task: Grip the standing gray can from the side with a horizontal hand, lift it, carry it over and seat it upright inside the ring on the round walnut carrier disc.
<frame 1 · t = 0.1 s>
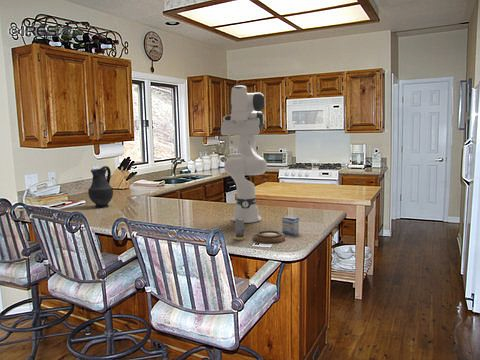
hand: (240, 143, 212), 48 cm above the countertop, tool pointing down, fingers open, 8 cm apart
pitcher: (103, 206, 305), on the countertop
carrier: (269, 238, 205), on the countertop
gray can: (239, 238, 207), on the countertop
medicine box: (290, 233, 216), on the countertop
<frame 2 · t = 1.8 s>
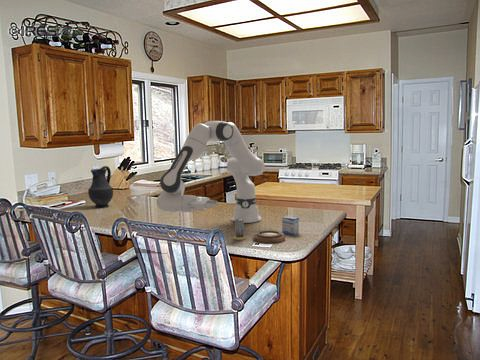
hand: (216, 204, 206), 18 cm above the countertop, tool horizontal, fingers open, 8 cm apart
nothing on the countertop moved.
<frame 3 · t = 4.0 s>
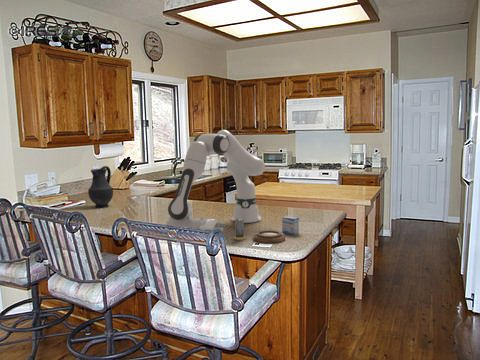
hand: (224, 227, 207), 6 cm above the countertop, tool horizontal, fingers open, 8 cm apart
nothing on the countertop moved.
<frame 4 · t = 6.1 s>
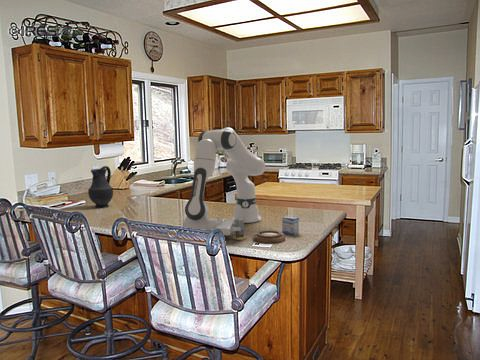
hand: (241, 227, 206), 6 cm above the countertop, tool horizontal, fingers closed on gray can, 4 cm apart
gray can: (239, 238, 207), on the countertop, touching gripper
everything else where it was.
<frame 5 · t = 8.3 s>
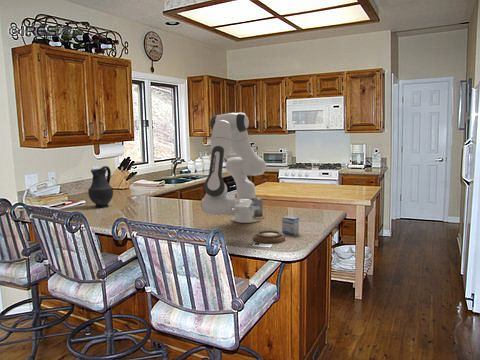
hand: (260, 206, 204), 17 cm above the countertop, tool horizontal, fingers closed on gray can, 4 cm apart
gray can: (258, 218, 205), point 11 cm above the countertop, touching gripper
everything else where it was.
when the fingers open (9 cm above the countertop, at t = 10.4 s): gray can drops 1 cm, resting on carrier.
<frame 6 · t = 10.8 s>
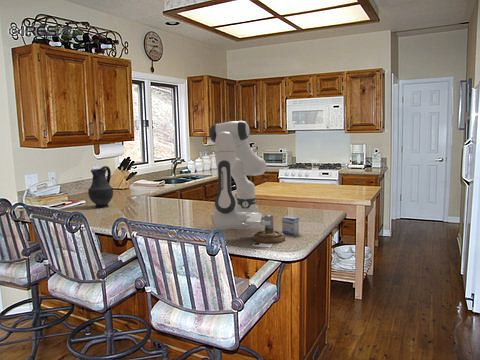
hand: (270, 220, 204), 9 cm above the countertop, tool horizontal, fingers open, 8 cm apart
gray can: (269, 234, 205), point 2 cm above the countertop, touching carrier
everything else where it was.
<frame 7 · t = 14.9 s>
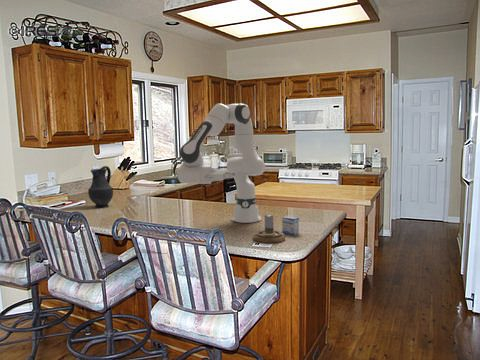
hand: (233, 175, 209), 32 cm above the countertop, tool horizontal, fingers open, 8 cm apart
nothing on the countertop moved.
at the end: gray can 0.0 cm from the carrier (horizontally); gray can touching carrier; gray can tilted 0° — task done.
